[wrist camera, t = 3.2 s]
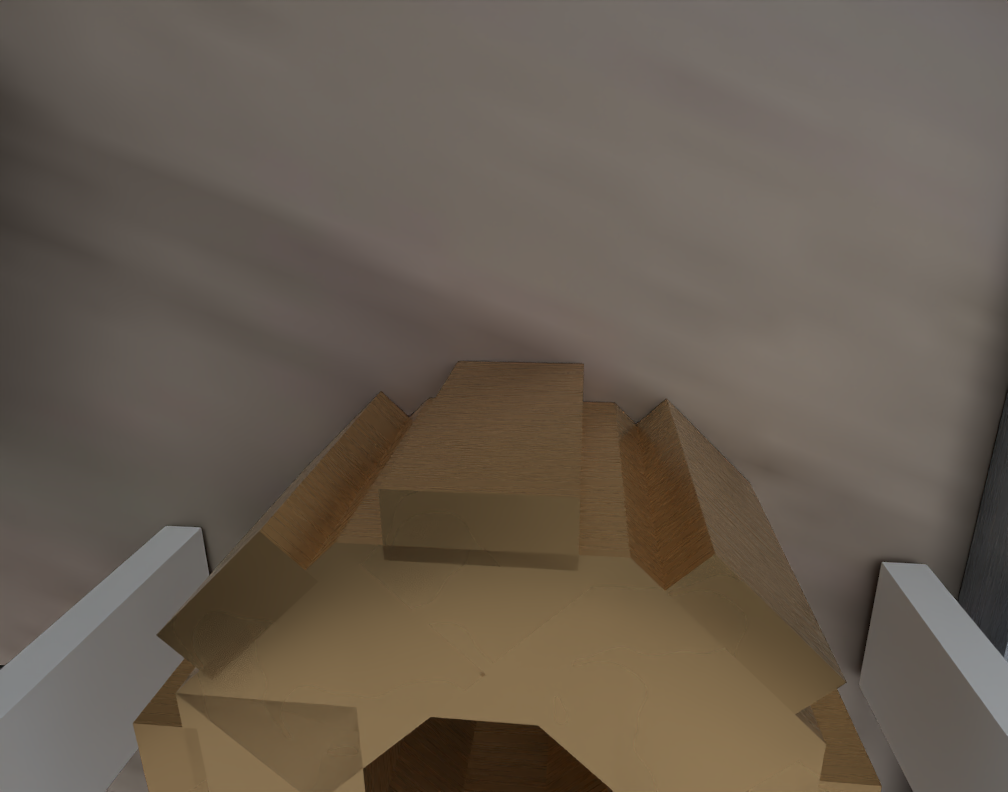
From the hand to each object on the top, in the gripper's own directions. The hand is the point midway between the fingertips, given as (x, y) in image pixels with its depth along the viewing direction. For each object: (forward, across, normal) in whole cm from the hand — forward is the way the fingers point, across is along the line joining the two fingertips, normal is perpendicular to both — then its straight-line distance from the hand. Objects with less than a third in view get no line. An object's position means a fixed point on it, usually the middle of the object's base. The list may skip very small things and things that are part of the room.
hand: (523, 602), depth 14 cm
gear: (0, 0, 0) cm, 0 cm away
